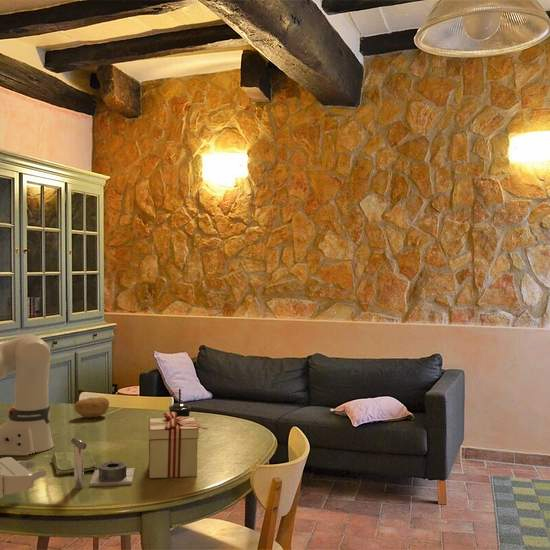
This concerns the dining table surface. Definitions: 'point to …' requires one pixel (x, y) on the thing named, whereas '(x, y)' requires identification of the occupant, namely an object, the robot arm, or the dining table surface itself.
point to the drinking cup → (180, 408)
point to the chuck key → (78, 463)
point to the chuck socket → (112, 474)
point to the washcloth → (72, 462)
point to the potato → (92, 407)
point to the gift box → (173, 446)
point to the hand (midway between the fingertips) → (39, 467)
